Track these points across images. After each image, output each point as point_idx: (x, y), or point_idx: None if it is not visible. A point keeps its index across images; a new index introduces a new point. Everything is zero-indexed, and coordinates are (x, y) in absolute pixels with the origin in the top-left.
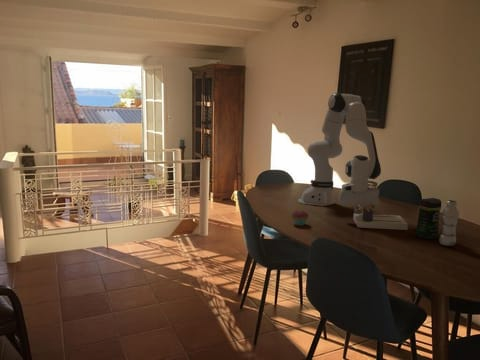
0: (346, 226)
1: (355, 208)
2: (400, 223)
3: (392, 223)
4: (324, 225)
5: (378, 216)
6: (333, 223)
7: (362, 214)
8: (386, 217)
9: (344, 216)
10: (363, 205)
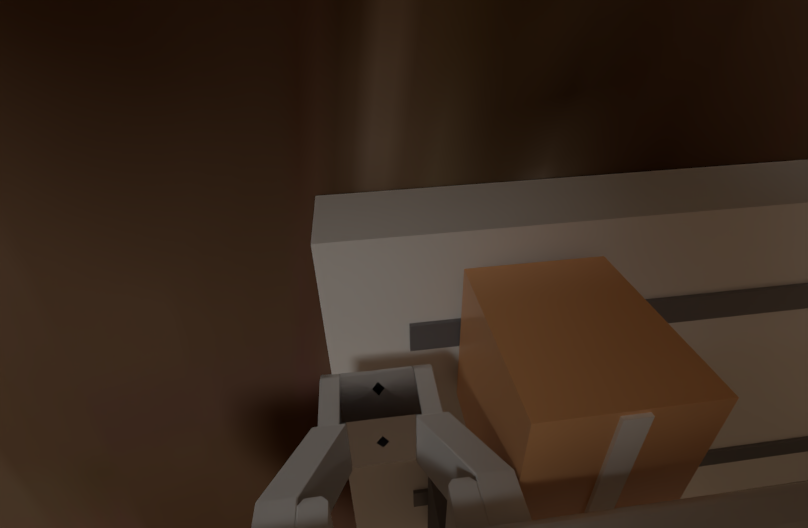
0: (245, 489)
1: (333, 489)
2: (775, 480)
3: (697, 494)
4: (8, 524)
5: (701, 318)
6: (77, 452)
7: (462, 358)
8: (791, 328)
9: (128, 49)
10: (542, 472)
